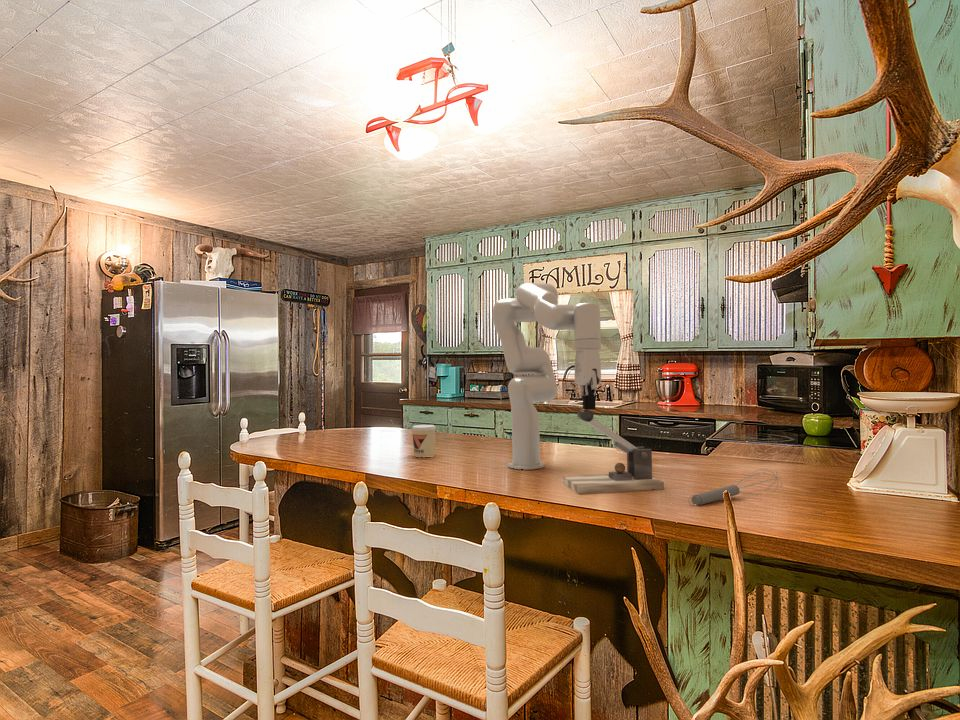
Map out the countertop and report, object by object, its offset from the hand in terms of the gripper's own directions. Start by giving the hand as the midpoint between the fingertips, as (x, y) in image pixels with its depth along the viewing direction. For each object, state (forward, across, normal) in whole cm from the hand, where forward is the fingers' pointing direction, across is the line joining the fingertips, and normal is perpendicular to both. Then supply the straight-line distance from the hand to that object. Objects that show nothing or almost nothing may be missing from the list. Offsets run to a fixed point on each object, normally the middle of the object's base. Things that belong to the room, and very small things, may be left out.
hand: (589, 409), depth 157 cm
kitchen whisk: (+23, +20, +33) cm, 45 cm away
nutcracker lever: (+9, 0, +5) cm, 11 cm away
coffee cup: (+22, -64, -45) cm, 82 cm away
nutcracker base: (+23, 0, +6) cm, 23 cm away
